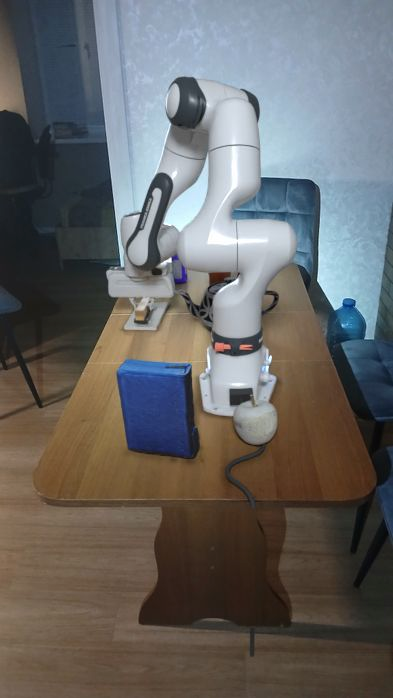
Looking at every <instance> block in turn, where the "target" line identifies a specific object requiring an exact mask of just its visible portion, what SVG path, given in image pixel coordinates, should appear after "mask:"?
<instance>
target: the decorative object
mask: <svg viewBox="0 0 393 698" xmlns="http://www.w3.org/2000/svg"><path fill="white" fill-rule="evenodd" d="M250 398H251V401H247V402H244V403H242V404H240V405H239V406H237V407H236V408H235V410H234V415H233V416H232V420H233V425H234V429H235V431H236V433H237V435H238V436H239V437H240V439H241V440H242V441H244V442H245V443H246V444H249V445H251V446H252V445H253V446H261V444H264V443H265V444H266V443H268V442H270V441H271V440H272V439H273V437H274V436H275V433H276V432H277V428H278V423H279V422H278V411H277V409H276V407H275V406H274V405H273V404H272V403H271V402H270V401H269V402H267V401H264V400H254V396H253V395H250Z"/></svg>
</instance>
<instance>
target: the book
mask: <svg viewBox="0 0 393 698" xmlns="http://www.w3.org/2000/svg"><path fill="white" fill-rule="evenodd" d="M115 375H116V382H117V389H118V393H119V395H118V396H119V400H120V407H121V413H122V420H123V426H124V435H125V442H126V446H127V447H126V448H127V449H128V450H129V451H133V452H137V453H143V454H149V455H150V454H151V455H160V456H169V457H177V458H178V457H179V458H183V459H193V458H195V457H196V456H197V455H198V453H199V450H200V433H199V427H198V426H196V425H195V406H194V405H195V404H194V389H193V366H192V364H191V363H190V362H167V361H153V360H144V359H143V360H142V359H134V358H125V360H124V361H123V362H122V363H121V364H120V365H119V367H118V369H117V370H116V372H115Z"/></svg>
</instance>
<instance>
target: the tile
mask: <svg viewBox="0 0 393 698" xmlns="http://www.w3.org/2000/svg"><path fill="white" fill-rule="evenodd" d="M140 302H141V301H139V302H138V303H140ZM152 305H153V307H154V311H153V313H152V315H151V317H150V319H149V321H148V323H134V319H135V310H133V312H132V313H131V315H130V316H129V318H128V320H127V321H126V323H125V325H124V326H123V329H124V331H157V330H158V328H159V326H160V324H161V322H162V320H163V317H164V316H165V313H166V311H167V310H168V307H169V301H167V302H164V301H163V302H159V301H157V302H156V301H154V302H153V304H152Z"/></svg>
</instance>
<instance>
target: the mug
mask: <svg viewBox="0 0 393 698" xmlns="http://www.w3.org/2000/svg"><path fill="white" fill-rule="evenodd" d="M236 273H237V274H236V277H235V279H237V278H238V276H239V275H240V273H239V272H236ZM207 274H208V284H209V285H208V286H210V285H211V284H214V283H217V282H222V281H224V279H225V278H228V277H232V276H231V275H232V272H219V273H207Z"/></svg>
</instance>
